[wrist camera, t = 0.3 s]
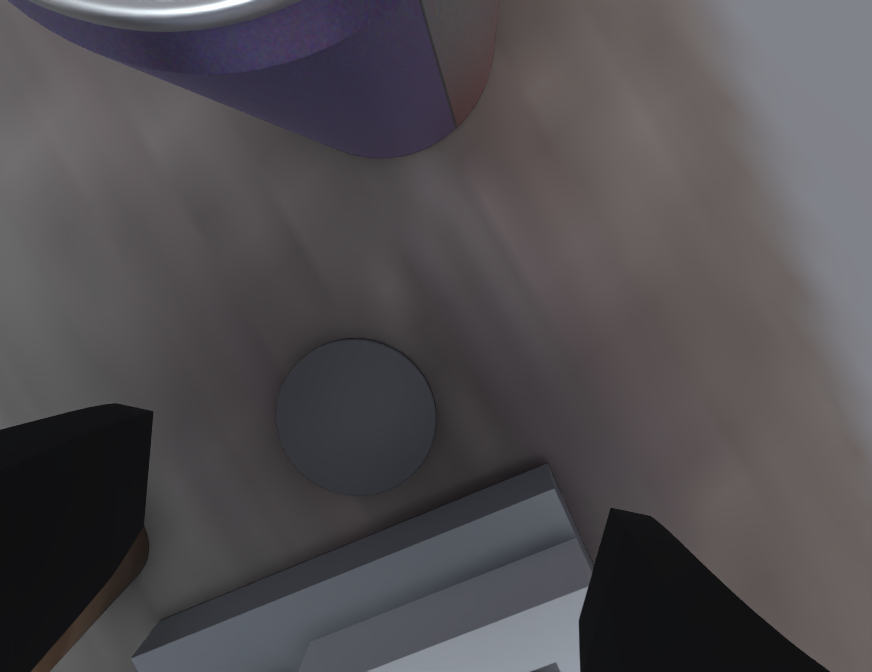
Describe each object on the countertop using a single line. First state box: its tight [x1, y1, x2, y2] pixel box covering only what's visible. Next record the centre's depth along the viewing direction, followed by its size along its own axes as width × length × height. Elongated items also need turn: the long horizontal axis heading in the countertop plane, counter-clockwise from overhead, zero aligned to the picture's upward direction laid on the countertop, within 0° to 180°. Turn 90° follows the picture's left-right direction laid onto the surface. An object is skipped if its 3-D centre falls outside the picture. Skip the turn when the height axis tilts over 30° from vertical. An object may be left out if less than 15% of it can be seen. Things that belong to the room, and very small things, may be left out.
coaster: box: [276, 338, 436, 496], centre depth 22 cm, size 5×5×1 cm
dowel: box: [31, 527, 149, 672], centre depth 19 cm, size 3×3×9 cm
